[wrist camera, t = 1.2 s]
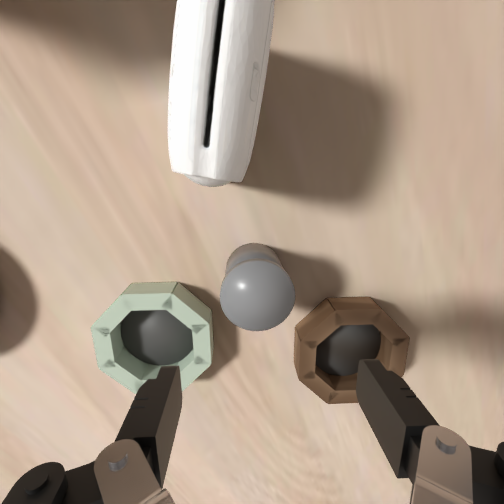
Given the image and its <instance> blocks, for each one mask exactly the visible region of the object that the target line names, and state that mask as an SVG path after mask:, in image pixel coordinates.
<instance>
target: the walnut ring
mask: <svg viewBox="0 0 504 504" xmlns="http://www.w3.org/2000/svg"><path fill="white" fill-rule="evenodd" d="M378 330H379V331H380V332H379V331H378ZM409 339H410V338H409V336H408V335H407V334H406V333H405V332H404V331H403V330H402V329H401V328H400V327H399V326H398V325H397V324H396V323H395V322H394V321H393V320H392V319H391V318H390V317H389V316H388V315H387V314H386V313H385V312H384V311H383V310H382V309H381V308H380V307H379V306H378V305H377V304H376V303H375V302H374V301H373V300H372V299H371V298H370V297H340V298H327V299H325V300H324V301H323V302H321V303H320V304H319V305H318V306H317V307H316V308H315V309H314V310H313V311H311V312H310V313H309V314H308V315H307V316H306V317H305V318H304V319H303V320H301V321H300V322H299V323H298V324H297V325H296V327H295V342H294V365H295V368H296V372H297V375H298V379H299V380H300V381H301V382H302V383H303V384H304V385H306V386H307V387H308V388H309V389H310V390H312V391H313V392H314V393H315V394H316V395H317V396H319V397H320V398H321V399H322V400H323V401H325V402H326V403H328V404H340V403H359V402H358V399H357V395H356V383H357V374H358V364H359V361H360V360H363V359H378V360H379V361H380V362H381V363H382V365H383V366H384V367H385V369H386V370H387V371H393V372H394V373H396V374H397V375H399V376H400V377H403V376H402V375H404V370H405V364H406V357H407V351H408V345H409Z"/></svg>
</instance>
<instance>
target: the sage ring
mask: <svg viewBox="0 0 504 504" xmlns="http://www.w3.org/2000/svg"><path fill="white" fill-rule="evenodd" d="M122 320H123V321H122ZM91 331H92V337H93V342H94V348H95V353H96V359H97V364H98V368H99V369H100V370H101V371H103V372H104V373H106V374H107V375H108V376H110V377H111V378H113V379H114V380H116V381H117V382H119V383H120V384H121V385H123V386H124V387H126V388H127V389H129V390H130V391H132V392H133V393H134V394H137V392H138V389H139V388H140V387H141V386H142V385H143V384H144V383H145V382H146V381H147V380H148V379H156V378H157V375H158V373H159V370H160V368H161V366H179V367H180V376H181V387H182V391H183V390H184V389H185V388H187V387H188V386H189V385H190V384H191V383H192V382H193V381H194V380H195V379H196V378H197V377H198V376H200V375H201V374H202V373H203V372H204V371H205V370H206V369H207V368H208V367H209V366H210V365H211V363H212V356H213V348H214V345H213V326H212V311H211V309H210V308H209V307H208V306H206V305H205V304H204V303H203V302H202V301H200V300H199V299H198V298H197V297H196V296H194V295H193V294H192V293H191V292H190V291H188V290H187V289H186V288H185V287H184V286H182V285H181V284H180V283H179V282H178V283H177V282H150V283H132V284H130V285H129V287H128V288H127V289H126V290H125V291H124V292H123V293H122V294H121V295H120V296H119V297H118V298H117V299H116V300H115V302H114V303H113V304H112V305H111V306H110V307H109V308H108V309H107V310H106V311H105V312H104V313H103V314H102V315H101V317H100V318H99V319H98V320H97V321H96V322H95V323H94V324H93V325H92V326H91Z"/></svg>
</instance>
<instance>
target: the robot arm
mask: <svg viewBox="0 0 504 504" xmlns="http://www.w3.org/2000/svg"><path fill="white" fill-rule="evenodd" d="M356 395H357V399H358V402H359V405H360V407H361V409H362V411H363V412H364V414H365V416H366V418H367V420H368V422H369V424H370V426H371V428H372V430H373V432H374V434H375V436H376V438H377V440H378V442H379V444H380V446H381V448H382V449H383V451H384V453H385V455H386V457H387V459H388V461H389V463H390V465H391V467H392V469H393V471H394V473H395V475H396V477H397V478H409V479H410V481H411V482H412V484H413V485H412V491H411V497H410V503H409V504H504V442H501V443H500V444H499V445H498V448H497V451H496V452H494V451H489V450H485V449H481V448H476V447H472V446H469V445H468V444H467V443H466V441H465V440H464V439H463V438H462V437H461V436H459V435H458V434H457V433H455V432H454V431H452V430H450V429H448V428H445V427H442V426H440V425H439V424H438V423H437V422H436V420H435V419H434V418H433V416H432V415H431V414H430V413H429V411H428V410H427V409H426V408H425V406H424V405H423V404H422V402H421V401H420V400H419V399H418V398H417V397H416V395H415V394H414V392H413V391H412V390H410V387H409V386H408V385H407V383H406V382H405V381H404V380H403V378H401V377H400V376H399V375H397V374H396V373H394V372H393V371H387V370H386V369H385V367H384V366H383V365H382V363H381V362H380V361H379V360H378V359H363V360H360V361H359V364H358V374H357V383H356ZM181 408H182V387H181V376H180V367H179V366H161V368H160V370H159V373H158V375H157V378H156V379H148V380H147V381H146V382H145V383H144V384H143V385H142V386H141V387H140V388H139V389H138V392H137V394H136V396H135V398H134V400H133V403H132V405H131V408H130V409H129V411H128V414H127V416H126V418H125V420H124V422H123V424H122V427H121V429H120V431H119V433H118V435H117V438H116V440H115V442H114V443H112V444H110V445H109V446H107V447H106V448H105V449H104V450H103V451H101V453H100V454H99V455H98V457H97V458H96V460H95V461H93V462H91V463H89V464H86V465H83V466H81V467H78V468H75V469H72V470H69V471H66V472H65V470H64V467H63V465H61V464H60V463H57V462H48V463H44V464H41V465H39V466H37V467H35V468H33V469H31V470H30V471H28V472H27V473H25V474H24V475H23V476H22V477H21V478H20V479H19V480H18V481H17V482H16V483H15V484H14V486H13V487H12V489H11V490H10V492H9V493H8V495H7V496H6V498H5V499H4V501H3V502H2V504H175V503H174V501H173V499H172V497H171V495H170V493H169V492H168V491H167V489H163V490H162V488H163V483H164V479H165V475H166V471H167V467H168V463H169V458H170V454H171V450H172V446H173V442H174V438H175V433H176V429H177V425H178V421H179V417H180V413H181Z"/></svg>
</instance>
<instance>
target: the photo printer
mask: <svg viewBox="0 0 504 504" xmlns="http://www.w3.org/2000/svg"><path fill="white" fill-rule="evenodd" d="M274 1H275V0H177V6H176V13H175V21H174V30H173V41H172V52H171V65H170V79H169V100H168V149H169V157H170V163H171V168H172V171H173V172H176V173H180V174H184V175H185V176H186V177H187V178H189V179H190V180H191V181H193V182H195V183H197V184H200V185H203V186H208V187H217V186H223V185H226V184H228V183H230V182H242V180H243V178H244V176H245V173H246V171H247V168H248V165H249V163H250V159H251V155H252V150H253V147H254V141H255V137H256V131H257V126H258V120H259V115H260V109H261V103H262V98H263V91H264V85H265V79H266V72H267V66H268V59H269V52H270V44H271V37H272V29H273V18H274Z"/></svg>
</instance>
